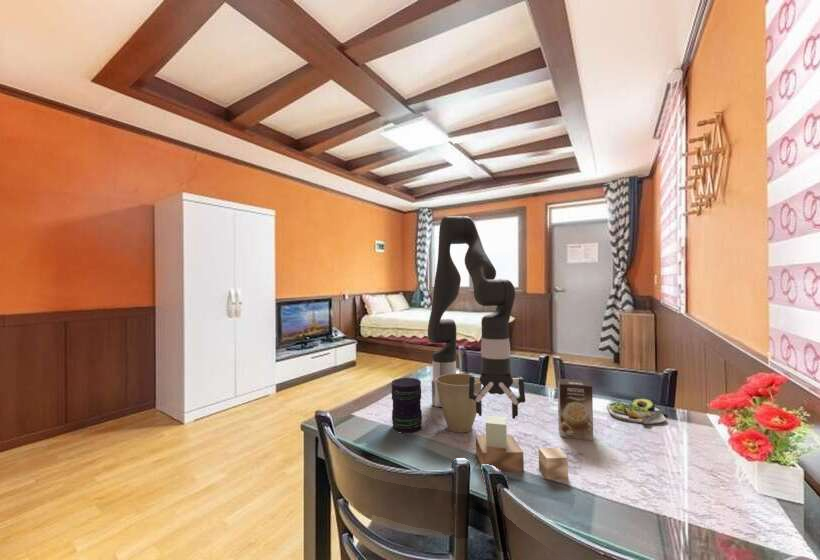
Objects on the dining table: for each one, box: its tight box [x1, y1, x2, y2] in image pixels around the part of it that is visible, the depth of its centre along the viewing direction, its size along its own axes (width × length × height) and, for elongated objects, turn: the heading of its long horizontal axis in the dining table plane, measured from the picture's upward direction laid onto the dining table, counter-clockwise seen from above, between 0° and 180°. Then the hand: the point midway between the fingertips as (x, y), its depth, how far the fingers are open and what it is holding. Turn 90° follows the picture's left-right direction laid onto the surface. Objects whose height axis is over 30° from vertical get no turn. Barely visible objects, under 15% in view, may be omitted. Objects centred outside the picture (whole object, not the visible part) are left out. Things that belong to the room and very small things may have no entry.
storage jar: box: [391, 377, 423, 434], centre depth 112 cm, size 10×10×15 cm
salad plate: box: [606, 398, 666, 425], centre depth 117 cm, size 19×18×5 cm
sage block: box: [485, 415, 508, 449], centre depth 89 cm, size 5×5×6 cm
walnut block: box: [474, 434, 525, 473], centre depth 89 cm, size 10×10×5 cm
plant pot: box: [436, 373, 483, 434], centre depth 110 cm, size 15×15×16 cm
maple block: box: [538, 447, 569, 480], centre depth 83 cm, size 5×5×5 cm
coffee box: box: [557, 378, 594, 442], centre depth 104 cm, size 9×6×16 cm
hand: (496, 416), depth 89 cm, fingers open, 8 cm apart
